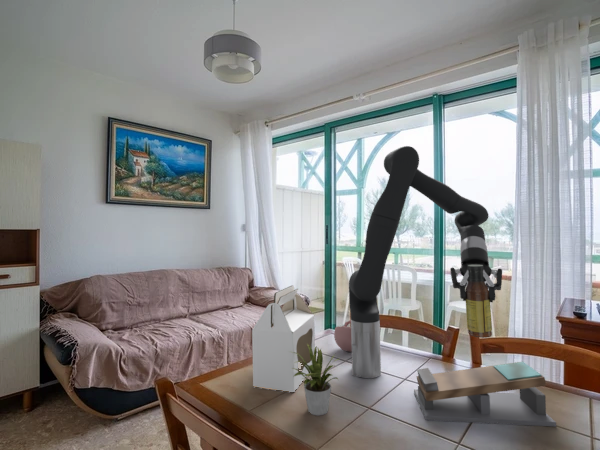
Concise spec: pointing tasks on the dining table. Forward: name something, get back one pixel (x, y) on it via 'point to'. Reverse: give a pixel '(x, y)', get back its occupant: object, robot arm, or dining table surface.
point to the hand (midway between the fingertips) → (477, 299)
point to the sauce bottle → (478, 304)
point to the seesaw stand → (489, 408)
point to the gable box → (282, 342)
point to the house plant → (316, 384)
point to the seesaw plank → (478, 380)
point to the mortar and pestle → (343, 337)
